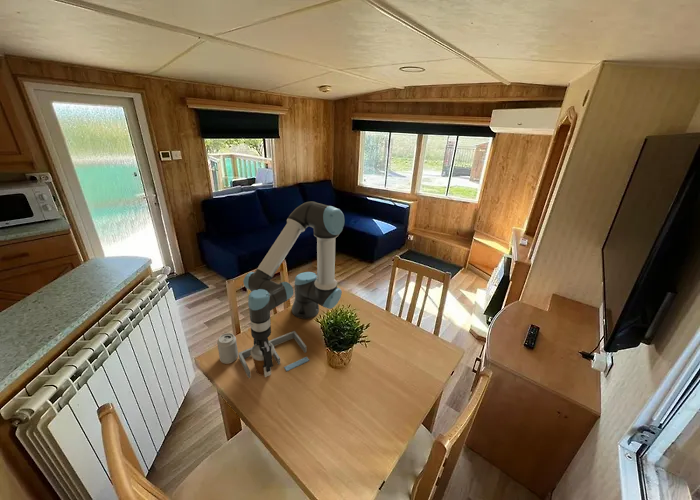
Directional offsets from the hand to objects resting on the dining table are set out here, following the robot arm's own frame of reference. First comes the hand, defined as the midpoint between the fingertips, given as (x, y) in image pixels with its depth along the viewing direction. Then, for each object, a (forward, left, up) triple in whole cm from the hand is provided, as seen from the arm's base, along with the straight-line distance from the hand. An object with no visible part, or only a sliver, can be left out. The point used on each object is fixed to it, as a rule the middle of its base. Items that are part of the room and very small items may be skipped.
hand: (263, 368), depth 119 cm
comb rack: (-7, -5, -1) cm, 8 cm away
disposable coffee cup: (0, 0, -1) cm, 1 cm away
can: (+10, -14, -1) cm, 18 cm away
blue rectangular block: (-13, +5, -1) cm, 14 cm away
